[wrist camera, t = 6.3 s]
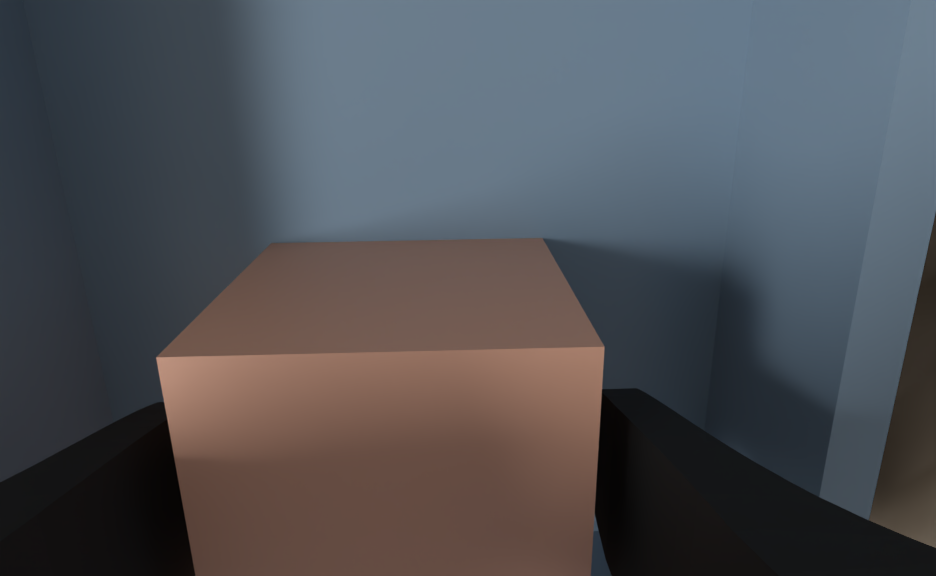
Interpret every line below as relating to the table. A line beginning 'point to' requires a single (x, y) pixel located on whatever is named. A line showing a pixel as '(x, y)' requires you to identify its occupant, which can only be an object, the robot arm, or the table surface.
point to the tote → (484, 190)
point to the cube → (389, 413)
